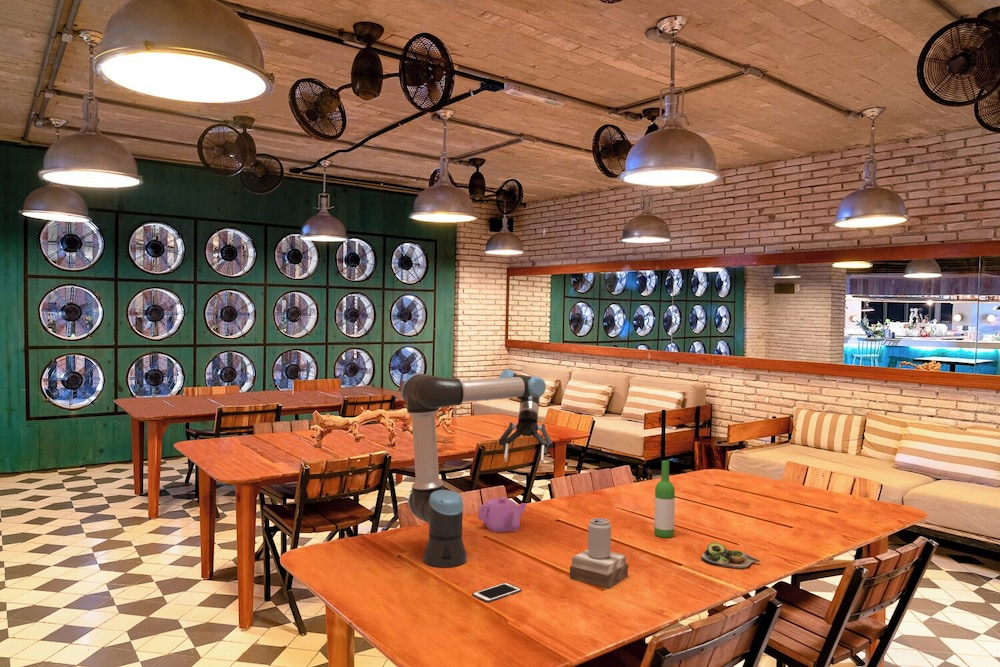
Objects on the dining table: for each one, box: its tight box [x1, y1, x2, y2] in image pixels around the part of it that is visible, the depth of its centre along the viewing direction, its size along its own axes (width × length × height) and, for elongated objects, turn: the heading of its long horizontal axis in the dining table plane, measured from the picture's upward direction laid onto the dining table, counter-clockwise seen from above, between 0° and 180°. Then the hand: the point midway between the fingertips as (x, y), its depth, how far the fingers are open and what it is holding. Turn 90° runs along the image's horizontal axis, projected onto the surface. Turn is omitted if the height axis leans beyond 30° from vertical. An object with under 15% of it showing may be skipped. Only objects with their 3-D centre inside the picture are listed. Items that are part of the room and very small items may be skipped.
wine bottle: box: [653, 459, 676, 539], centre depth 272 cm, size 8×8×30 cm
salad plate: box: [700, 542, 761, 569], centre depth 243 cm, size 19×18×5 cm
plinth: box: [569, 549, 629, 590], centre depth 224 cm, size 14×14×7 cm
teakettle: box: [477, 496, 528, 533], centre depth 279 cm, size 17×17×12 cm
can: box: [587, 517, 612, 559], centre depth 224 cm, size 8×8×12 cm
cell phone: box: [471, 582, 523, 604], centre depth 209 cm, size 8×15×1 cm, turn 132°
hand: (523, 460), depth 251 cm, fingers open, 13 cm apart
